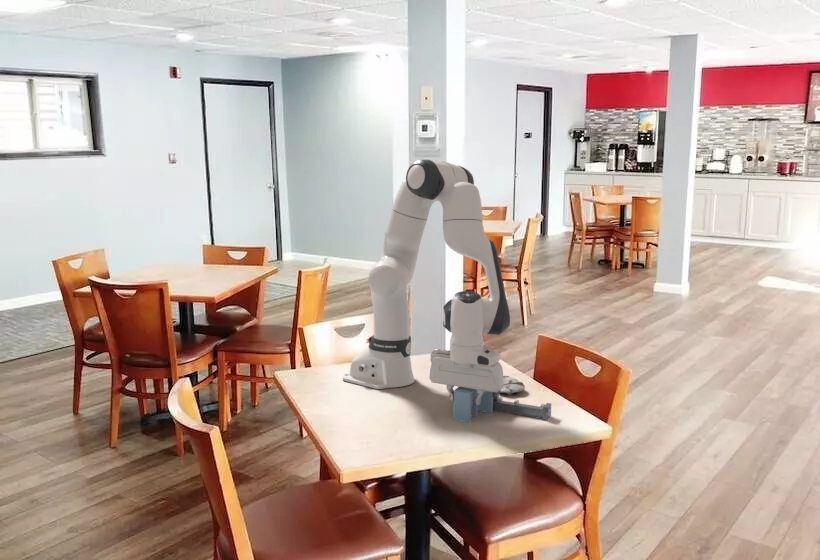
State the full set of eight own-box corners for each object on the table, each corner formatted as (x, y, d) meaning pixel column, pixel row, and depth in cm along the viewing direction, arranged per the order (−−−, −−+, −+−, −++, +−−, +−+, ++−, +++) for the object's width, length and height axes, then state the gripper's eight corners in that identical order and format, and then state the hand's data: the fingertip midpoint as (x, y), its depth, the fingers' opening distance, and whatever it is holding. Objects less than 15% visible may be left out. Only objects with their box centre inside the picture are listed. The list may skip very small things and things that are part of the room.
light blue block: (451, 419, 201) (452, 390, 200) (460, 411, 207) (460, 383, 205) (469, 422, 199) (470, 393, 198) (477, 414, 205) (478, 386, 203)
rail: (466, 407, 210) (466, 394, 210) (470, 403, 214) (471, 391, 213) (547, 420, 201) (547, 407, 200) (550, 416, 204) (551, 403, 203)
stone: (529, 396, 220) (530, 385, 220) (500, 398, 218) (500, 387, 218) (514, 383, 232) (515, 373, 231) (486, 385, 230) (487, 375, 229)
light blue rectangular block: (475, 410, 208) (476, 382, 206) (483, 403, 213) (484, 376, 212) (493, 413, 206) (494, 385, 204) (500, 406, 211) (501, 378, 210)
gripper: (425, 351, 201) (425, 400, 204) (498, 361, 193) (497, 412, 195) (435, 345, 207) (434, 393, 209) (506, 354, 198) (504, 404, 201)
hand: (465, 402), depth 202 cm, fingers open, 5 cm apart
